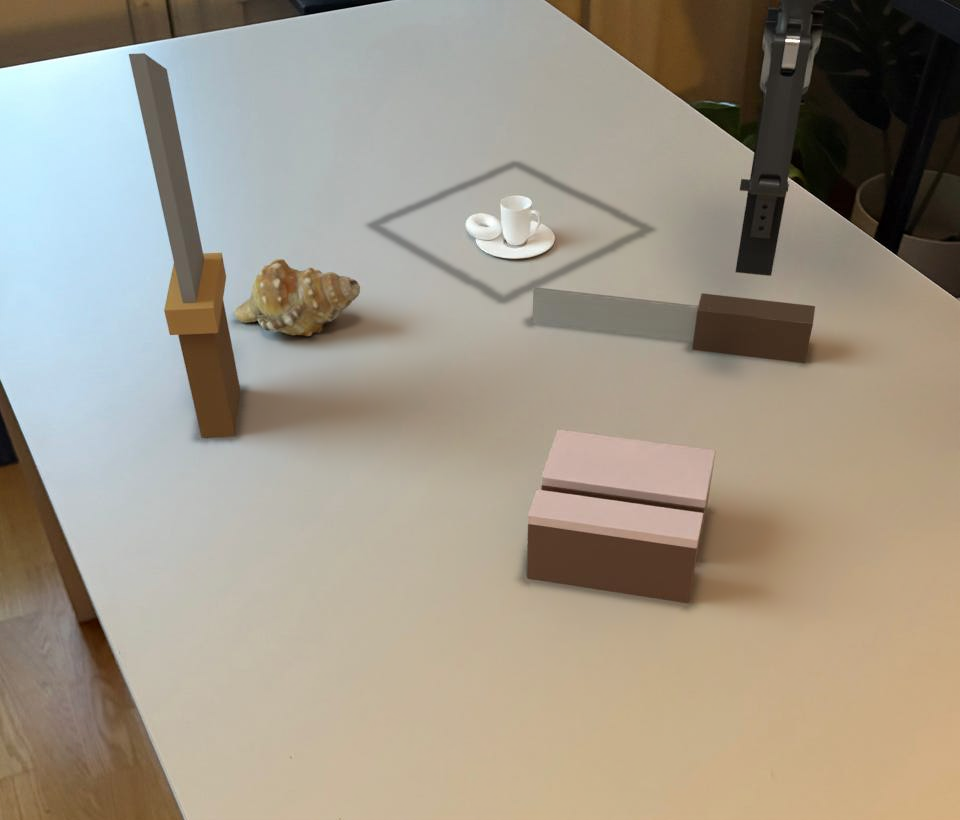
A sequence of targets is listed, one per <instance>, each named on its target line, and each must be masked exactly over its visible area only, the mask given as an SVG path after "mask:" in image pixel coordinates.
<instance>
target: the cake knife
mask: <svg viewBox="0 0 960 820" xmlns="http://www.w3.org/2000/svg"><path fill="white" fill-rule="evenodd" d="M815 311H816V305H811V304H802V303H791V302H782V301H775V300H765V299H757V298H749V297H748V298H746V297H740V296H739V297H738V296H729V295H723V294H722V295H721V294H712V293H703V292H702V293H701V294H700V298H699V303H698V305H695V304H685V303H677V302H668V301H660V300H649V299H641V298H633V297H625V296H616V295H606V294H600V293H599V294H597V293H591V292H590V293H589V292H581V291H572V290H562V289H554V288H547V287H546V288H545V287H537V286H534V287H533V289H532V324H537V325H538V324H539V325H546V326H547V325H548V326H554V327H555V326H556V327H562V328H563V327H564V328H571V329H572V328H573V329H581V330H589V331H598V332H605V333H606V332H607V333H614V334H622V335H623V334H624V335H632V336H639V337H647V338H656V339H665V340H672V341H673V340H675V341H681V342H682V341H683V342H690V343H692V346H691V350H692V351H698V352H708V353H715V354H716V353H717V354H723V355H732V356H741V357H749V358H757V359H765V360H774V361H783V362H790V363H799V364H805V363H806V359H807V353H808V348H809V344H810V340H811V335H812V330H813V326H814V319H815Z"/></svg>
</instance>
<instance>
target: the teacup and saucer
mask: <svg viewBox="0 0 960 820" xmlns="http://www.w3.org/2000/svg"><path fill="white" fill-rule="evenodd" d="M532 201H533V200H531V199H530V197H527V196H523V195H509V196H506V197H504V198H502V199H501V201H500V206H499V207H500V219H498V218H497V217H496V216H494V215H492V214H489V213H483V212H481V213H480V212H479V213H474V214H472V215H470V216H468V217H467V218H466V221H465V228H466V231H467V232H468V234H469V235H471V236H472V237H473V238H474V239H475V243H476V245H477V247H478V248H479V249H480V250H481V251H483V252H484V253H487V254H489V255H491V256H494V257H497V258H502V259H509V260H510V259H515V260H517V259H528V258H532V257H533V258H534V257H536V256H539V255H541V254H544V253H546V252H547V251H549V250H550V249H551V248H552V247H553V246H554V244H555V241H556V237H555V234H554V233H555V232H553V230H552V229H551V228H550V227H548V226H547V225H545V224H543V223H542V220H543V217H542V214H541V213H540V212H539V211H538V210H537V209H533V202H532ZM532 215H535V216H536V217H537V221H536V220H533V219H532ZM504 241H506V243H507V244H508V245H510V246H513V247H509V246H506V245H505V243H504ZM525 242H526V244H525ZM524 244H525V245H524ZM522 245H524V246H522ZM514 246H516V247H514ZM517 246H518V247H517ZM519 246H521V247H519Z"/></svg>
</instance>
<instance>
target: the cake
mask: <svg viewBox="0 0 960 820" xmlns="http://www.w3.org/2000/svg"><path fill="white" fill-rule="evenodd" d="M716 451H717V450H715V449H709V448H703V447H702V448H701V447H692V446H685V445H677V444H670V443H664V442H663V443H662V442H656V441H648V440H642V439H641V440H640V439H634V438H625V437H619V436H610V435H603V434H597V433H588V432H581V431H575V430H568V429H557V430H556V434H555V436H554V439H553V443H552V445H551V448H550V450H549V454H548V456H547V460H546V463H545V465H544V469H543V471H542V475H541V482H540V483H541V485H540V486H541V487H540V490H544V491H551V492H558V493H565V494H572V495H579V496H586V497H594V498H601V499H608V500H615V501H622V502H629V503H636V504H643V505H650V506H657V507H664V508H671V509H678V510H685V511H692V512H699V513H703V520H702V526H701V533H700V539H699V545H698V551H697V558H696V562H697V560H698V556H699V550H700V544H701V541H702V536H703V531H704V525H705V520H706V514H707V509H708V502H709V498H710V497H709V496H710V490H711V485H712V477H713V471H714V466H715V465H714V464H715V460H716V459H715V458H716Z"/></svg>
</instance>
